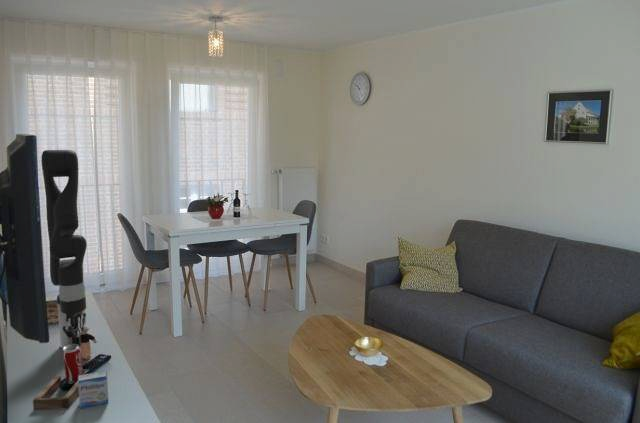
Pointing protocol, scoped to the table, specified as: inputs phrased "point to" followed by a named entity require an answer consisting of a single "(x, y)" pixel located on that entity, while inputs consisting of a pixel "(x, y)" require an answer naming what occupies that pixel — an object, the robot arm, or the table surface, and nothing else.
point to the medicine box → (93, 389)
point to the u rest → (55, 403)
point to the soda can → (72, 362)
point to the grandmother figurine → (86, 343)
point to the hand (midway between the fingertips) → (76, 346)
